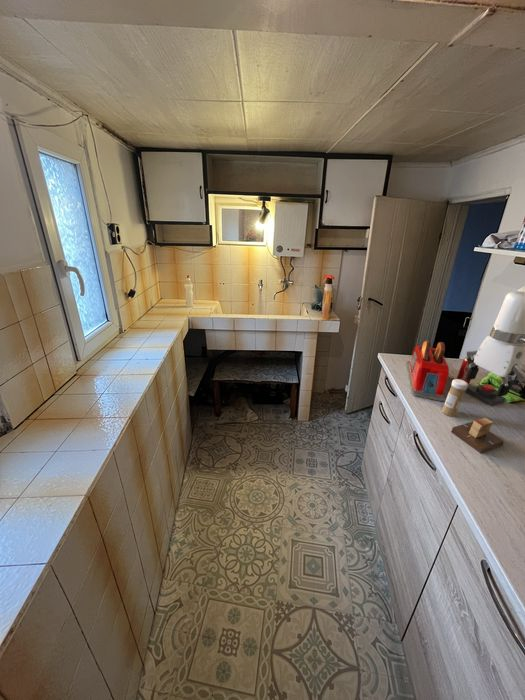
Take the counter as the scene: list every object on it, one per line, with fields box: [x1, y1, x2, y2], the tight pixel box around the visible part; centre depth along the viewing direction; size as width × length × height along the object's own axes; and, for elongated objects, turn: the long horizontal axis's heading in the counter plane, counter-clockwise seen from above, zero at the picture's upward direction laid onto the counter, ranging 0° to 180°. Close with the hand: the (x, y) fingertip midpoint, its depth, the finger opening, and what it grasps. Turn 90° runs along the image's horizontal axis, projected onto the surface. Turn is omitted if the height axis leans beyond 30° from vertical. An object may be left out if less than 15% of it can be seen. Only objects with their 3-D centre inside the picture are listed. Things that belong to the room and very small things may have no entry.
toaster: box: [405, 339, 450, 403], centre depth 122 cm, size 32×13×19 cm, turn 159°
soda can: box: [455, 356, 475, 386], centre depth 122 cm, size 5×5×12 cm
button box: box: [465, 384, 507, 407], centre depth 114 cm, size 10×8×4 cm
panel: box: [450, 421, 505, 454], centre depth 92 cm, size 10×10×2 cm
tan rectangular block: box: [469, 417, 494, 438], centre depth 90 cm, size 6×2×5 cm, turn 110°
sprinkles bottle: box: [441, 378, 469, 417], centre depth 102 cm, size 5×5×13 cm
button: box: [482, 383, 495, 392], centre depth 113 cm, size 4×4×2 cm
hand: (484, 386), depth 87 cm, fingers open, 9 cm apart
